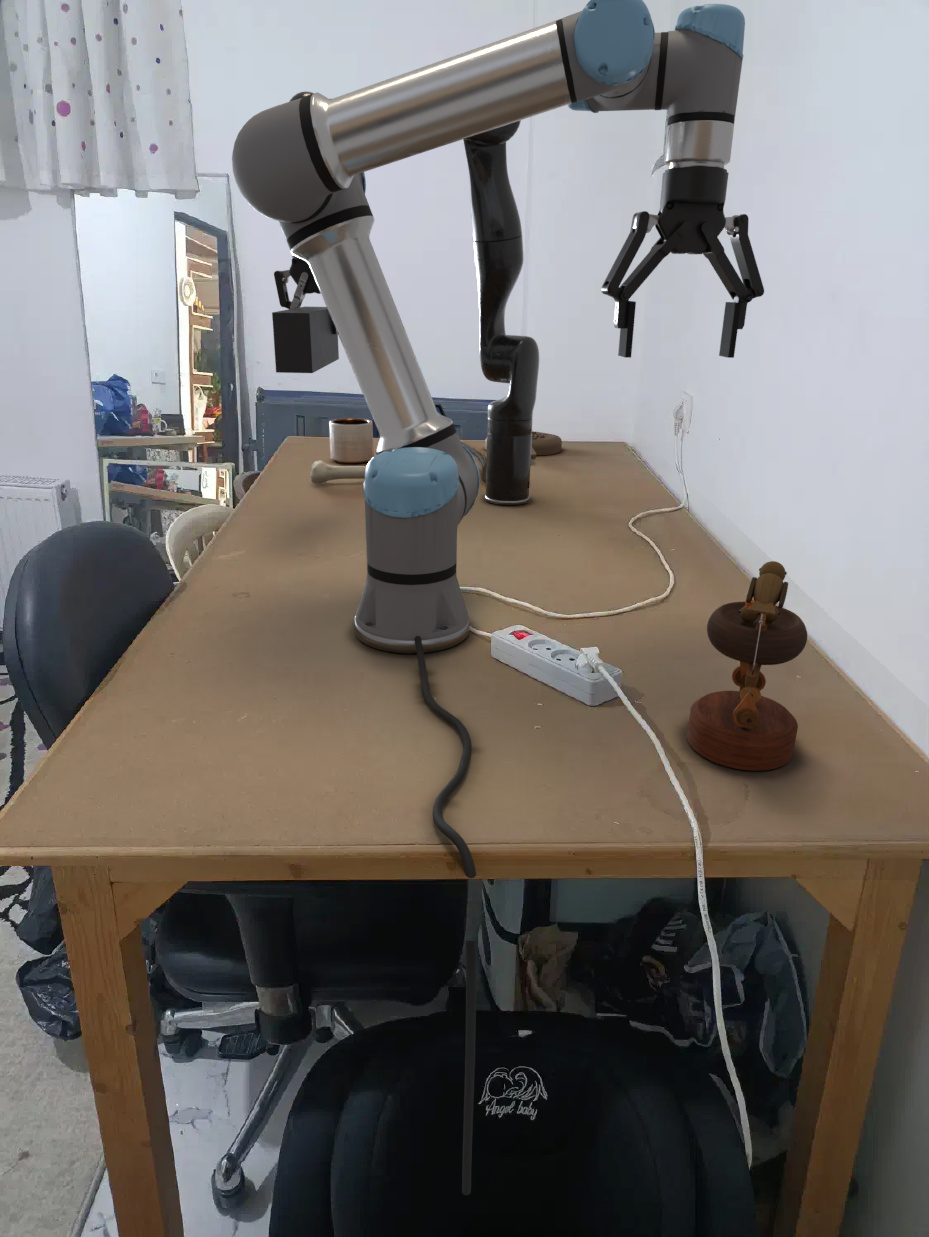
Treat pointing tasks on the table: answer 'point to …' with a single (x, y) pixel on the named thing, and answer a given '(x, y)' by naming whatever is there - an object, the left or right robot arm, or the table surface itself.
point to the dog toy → (335, 472)
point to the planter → (351, 440)
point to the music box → (750, 679)
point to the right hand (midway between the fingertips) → (317, 333)
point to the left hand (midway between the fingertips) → (675, 357)
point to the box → (304, 340)
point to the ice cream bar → (543, 444)
